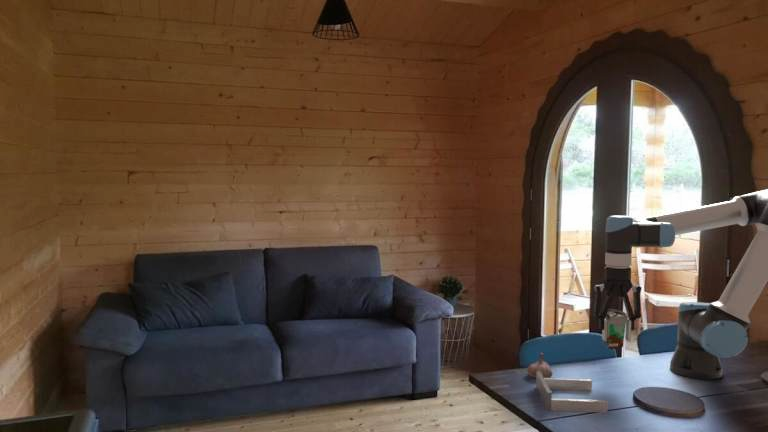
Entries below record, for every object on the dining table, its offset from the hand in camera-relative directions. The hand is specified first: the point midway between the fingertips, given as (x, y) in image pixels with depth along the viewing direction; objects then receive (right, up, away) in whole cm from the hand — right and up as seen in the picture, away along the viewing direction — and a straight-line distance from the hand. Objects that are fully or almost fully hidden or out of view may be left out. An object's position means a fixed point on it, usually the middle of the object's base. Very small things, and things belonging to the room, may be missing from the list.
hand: (616, 340), depth 184 cm
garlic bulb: (-22, -13, +6) cm, 27 cm away
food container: (0, -2, 0) cm, 2 cm away
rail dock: (-18, -15, -12) cm, 26 cm away
